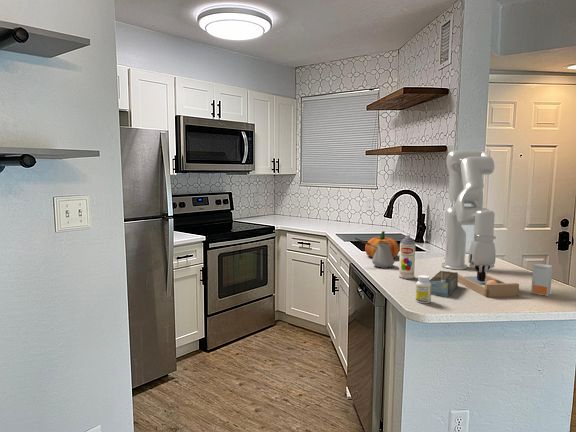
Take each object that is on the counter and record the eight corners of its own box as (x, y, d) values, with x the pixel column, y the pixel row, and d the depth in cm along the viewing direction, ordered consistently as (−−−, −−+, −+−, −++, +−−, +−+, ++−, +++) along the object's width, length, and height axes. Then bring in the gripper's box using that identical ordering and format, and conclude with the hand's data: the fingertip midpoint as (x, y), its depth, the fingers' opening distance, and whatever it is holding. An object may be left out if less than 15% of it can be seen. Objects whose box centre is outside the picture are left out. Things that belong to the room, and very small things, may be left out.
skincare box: (530, 293, 168) (532, 264, 167) (533, 291, 171) (535, 263, 170) (547, 296, 164) (550, 267, 162) (550, 294, 166) (552, 265, 165)
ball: (484, 293, 170) (481, 281, 172) (495, 293, 171) (492, 281, 173) (491, 291, 166) (488, 279, 167) (503, 290, 166) (499, 278, 168)
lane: (453, 279, 189) (453, 268, 189) (480, 278, 190) (481, 268, 190) (486, 297, 162) (486, 284, 162) (518, 296, 164) (519, 284, 163)
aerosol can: (397, 278, 190) (399, 235, 188) (400, 275, 196) (401, 233, 194) (413, 280, 187) (414, 236, 185) (414, 276, 194) (416, 234, 192)
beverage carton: (427, 294, 167) (428, 278, 166) (439, 283, 183) (439, 269, 182) (448, 297, 162) (448, 281, 162) (458, 286, 178) (458, 271, 178)
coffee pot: (391, 264, 220) (392, 236, 219) (396, 269, 209) (397, 239, 207) (351, 263, 221) (352, 235, 219) (354, 268, 210) (354, 239, 208)
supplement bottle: (422, 298, 160) (423, 273, 159) (433, 302, 156) (434, 277, 154) (412, 300, 158) (413, 275, 157) (423, 304, 153) (424, 278, 152)
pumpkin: (362, 259, 232) (363, 233, 230) (367, 253, 250) (367, 228, 248) (398, 262, 226) (398, 234, 224) (399, 255, 244) (400, 230, 242)
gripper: (494, 237, 181) (492, 278, 183) (462, 237, 179) (460, 278, 181) (505, 240, 173) (502, 282, 175) (471, 240, 172) (469, 283, 174)
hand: (481, 280), depth 178 cm, fingers closed
